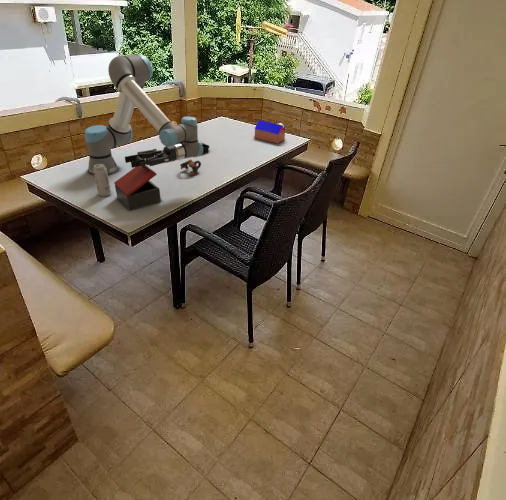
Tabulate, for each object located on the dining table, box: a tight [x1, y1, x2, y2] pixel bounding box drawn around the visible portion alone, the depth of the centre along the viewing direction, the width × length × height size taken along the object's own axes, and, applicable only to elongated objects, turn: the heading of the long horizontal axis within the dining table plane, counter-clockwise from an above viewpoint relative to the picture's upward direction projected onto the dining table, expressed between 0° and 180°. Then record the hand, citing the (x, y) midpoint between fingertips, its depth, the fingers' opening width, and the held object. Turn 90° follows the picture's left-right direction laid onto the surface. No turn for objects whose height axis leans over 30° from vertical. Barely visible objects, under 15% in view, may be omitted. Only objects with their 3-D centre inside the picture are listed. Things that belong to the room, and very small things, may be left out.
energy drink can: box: [93, 164, 112, 197], centre depth 170 cm, size 6×6×15 cm
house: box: [254, 119, 287, 144], centre depth 256 cm, size 12×20×12 cm, turn 58°
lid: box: [113, 156, 157, 196], centre depth 163 cm, size 17×15×8 cm
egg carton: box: [177, 141, 210, 154], centre depth 234 cm, size 18×30×4 cm, turn 60°
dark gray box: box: [114, 180, 162, 211], centre depth 170 cm, size 16×15×7 cm
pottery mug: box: [180, 159, 202, 176], centre depth 201 cm, size 12×10×8 cm
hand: (128, 162), depth 159 cm, fingers closed on lid, 6 cm apart
